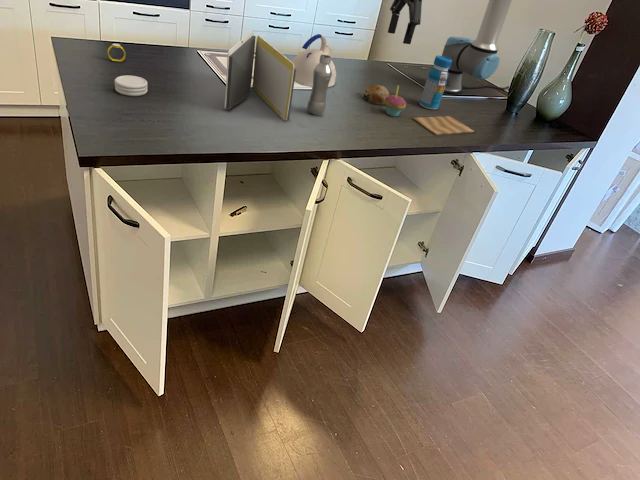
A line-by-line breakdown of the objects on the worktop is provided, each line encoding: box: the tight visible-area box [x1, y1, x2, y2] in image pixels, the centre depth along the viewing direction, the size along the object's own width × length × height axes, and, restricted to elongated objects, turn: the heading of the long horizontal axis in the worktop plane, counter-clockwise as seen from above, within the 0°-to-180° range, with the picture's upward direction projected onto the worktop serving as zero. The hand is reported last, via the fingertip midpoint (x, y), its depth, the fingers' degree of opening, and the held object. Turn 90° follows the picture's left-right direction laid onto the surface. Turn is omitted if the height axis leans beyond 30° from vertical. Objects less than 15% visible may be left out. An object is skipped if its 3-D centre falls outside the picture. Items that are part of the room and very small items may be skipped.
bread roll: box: [363, 84, 390, 106], centre depth 192 cm, size 10×10×8 cm
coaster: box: [114, 75, 149, 97], centre depth 155 cm, size 10×10×4 cm
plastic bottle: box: [307, 55, 332, 116], centre depth 165 cm, size 6×7×20 cm
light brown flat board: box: [412, 115, 475, 136], centre depth 184 cm, size 20×14×1 cm
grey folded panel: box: [224, 30, 296, 122], centre depth 161 cm, size 35×22×20 cm, turn 30°
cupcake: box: [385, 84, 407, 117], centre depth 181 cm, size 9×8×12 cm
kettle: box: [291, 33, 337, 88], centre depth 196 cm, size 20×21×18 cm
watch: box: [107, 43, 127, 63], centre depth 174 cm, size 6×3×6 cm, turn 114°
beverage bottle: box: [419, 55, 452, 111], centre depth 194 cm, size 8×8×20 cm
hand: (398, 38), depth 177 cm, fingers open, 13 cm apart
